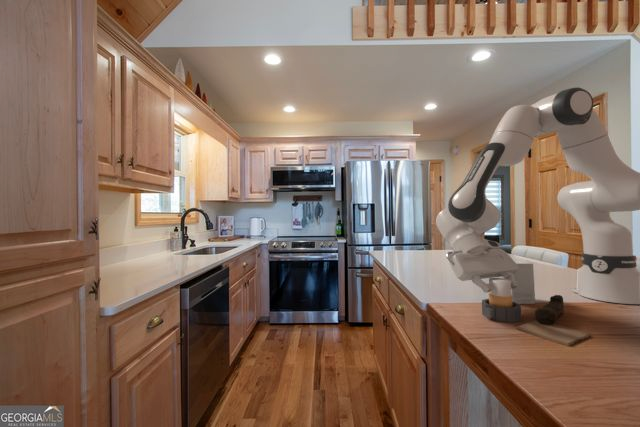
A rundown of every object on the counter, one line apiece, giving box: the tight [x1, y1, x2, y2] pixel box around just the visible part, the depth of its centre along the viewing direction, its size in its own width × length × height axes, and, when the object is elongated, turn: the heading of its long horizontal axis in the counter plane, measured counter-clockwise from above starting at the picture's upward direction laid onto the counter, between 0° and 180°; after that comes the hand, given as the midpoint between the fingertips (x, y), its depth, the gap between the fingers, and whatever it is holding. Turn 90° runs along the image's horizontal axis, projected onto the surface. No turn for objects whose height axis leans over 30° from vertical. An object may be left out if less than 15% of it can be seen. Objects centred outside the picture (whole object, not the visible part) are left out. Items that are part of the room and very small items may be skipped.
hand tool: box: [534, 294, 565, 325], centre depth 71 cm, size 19×4×5 cm, turn 127°
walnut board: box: [515, 319, 591, 347], centre depth 63 cm, size 10×10×1 cm
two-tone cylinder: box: [488, 277, 513, 307], centre depth 74 cm, size 5×5×10 cm
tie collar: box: [481, 298, 522, 323], centre depth 74 cm, size 10×9×4 cm
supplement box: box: [496, 259, 536, 305], centre depth 88 cm, size 7×7×13 cm
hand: (502, 289), depth 74 cm, fingers open, 8 cm apart
